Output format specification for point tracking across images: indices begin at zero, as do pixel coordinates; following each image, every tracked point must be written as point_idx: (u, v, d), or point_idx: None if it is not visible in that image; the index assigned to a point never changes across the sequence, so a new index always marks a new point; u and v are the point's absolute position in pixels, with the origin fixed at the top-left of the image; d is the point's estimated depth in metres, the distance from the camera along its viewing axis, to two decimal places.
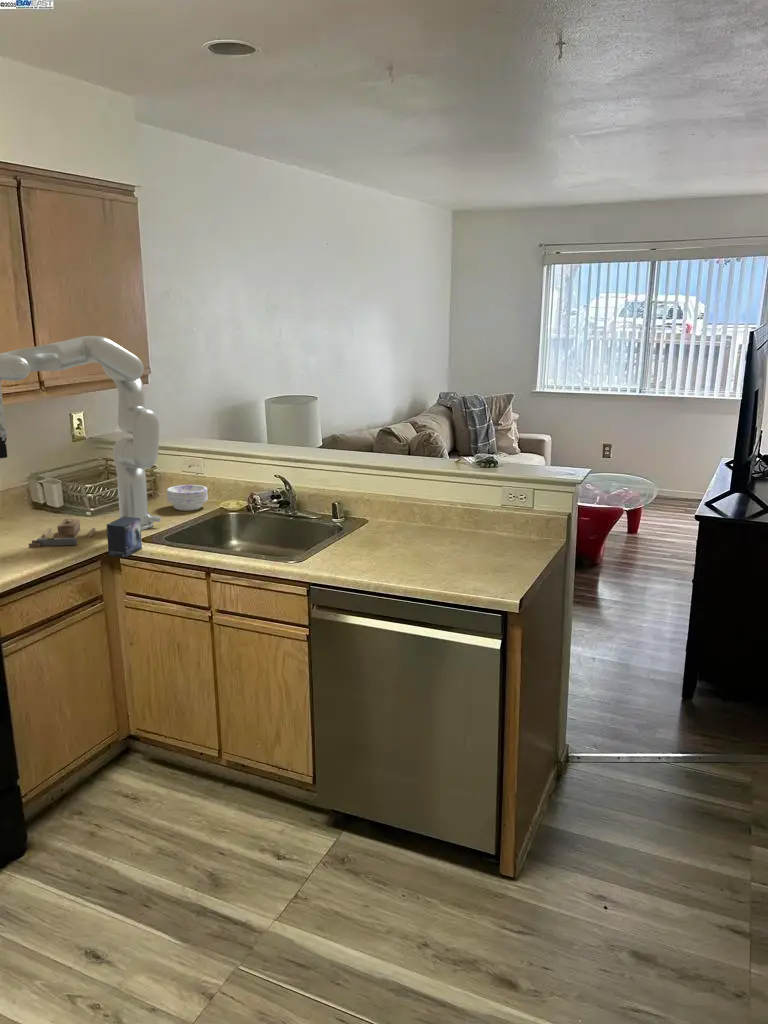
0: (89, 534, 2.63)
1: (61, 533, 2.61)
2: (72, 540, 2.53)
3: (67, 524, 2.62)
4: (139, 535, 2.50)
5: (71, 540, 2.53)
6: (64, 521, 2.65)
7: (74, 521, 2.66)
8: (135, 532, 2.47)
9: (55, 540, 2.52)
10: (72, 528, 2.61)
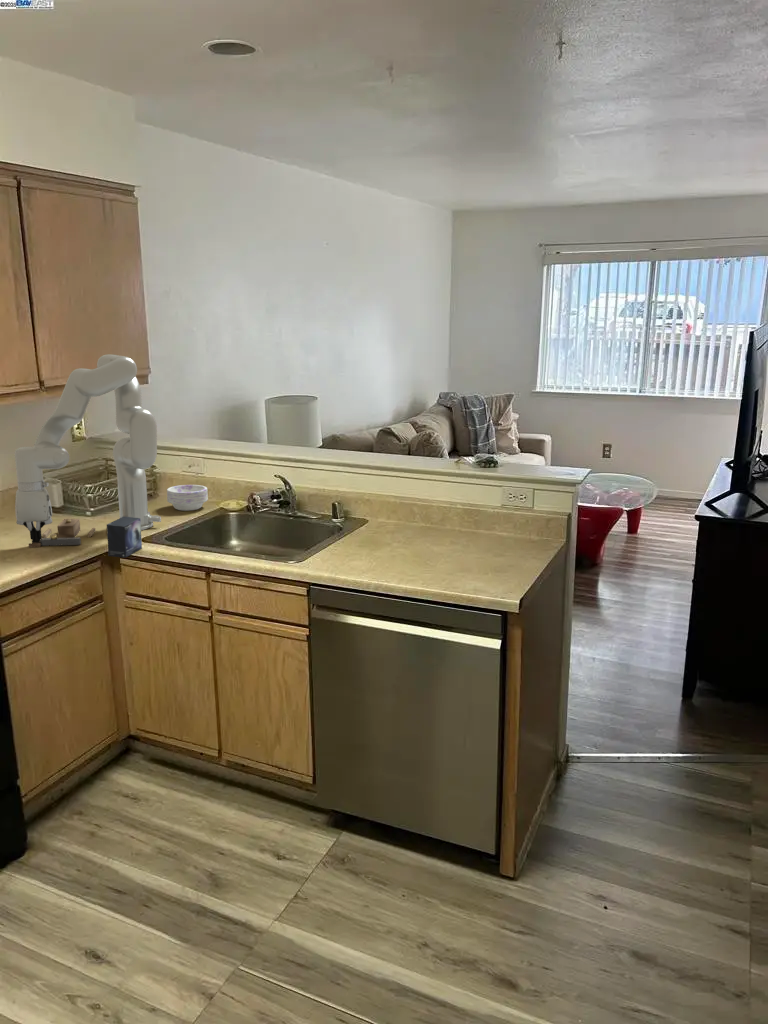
0: (89, 534, 2.63)
1: (61, 533, 2.61)
2: (76, 540, 2.53)
3: (67, 524, 2.62)
4: (139, 535, 2.50)
5: (75, 540, 2.53)
6: (64, 521, 2.65)
7: (74, 521, 2.66)
8: (135, 532, 2.47)
9: (58, 540, 2.53)
10: (72, 528, 2.61)
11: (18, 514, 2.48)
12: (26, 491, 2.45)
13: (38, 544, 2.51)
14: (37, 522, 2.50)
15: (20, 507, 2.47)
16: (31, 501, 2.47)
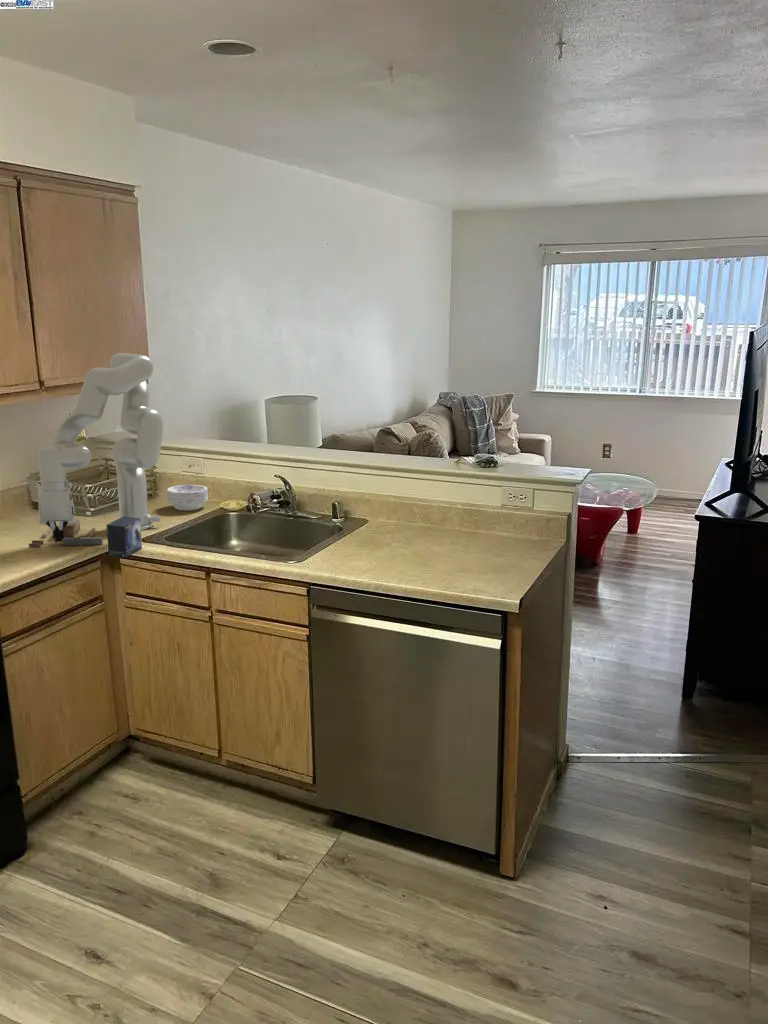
0: (89, 534, 2.63)
1: None
2: (98, 539, 2.54)
3: None
4: (139, 535, 2.50)
5: (97, 539, 2.54)
6: None
7: None
8: (135, 532, 2.47)
9: (81, 540, 2.54)
10: (72, 528, 2.61)
11: (41, 514, 2.49)
12: (49, 491, 2.46)
13: (38, 544, 2.51)
14: (60, 522, 2.51)
15: (43, 507, 2.48)
16: (54, 501, 2.48)
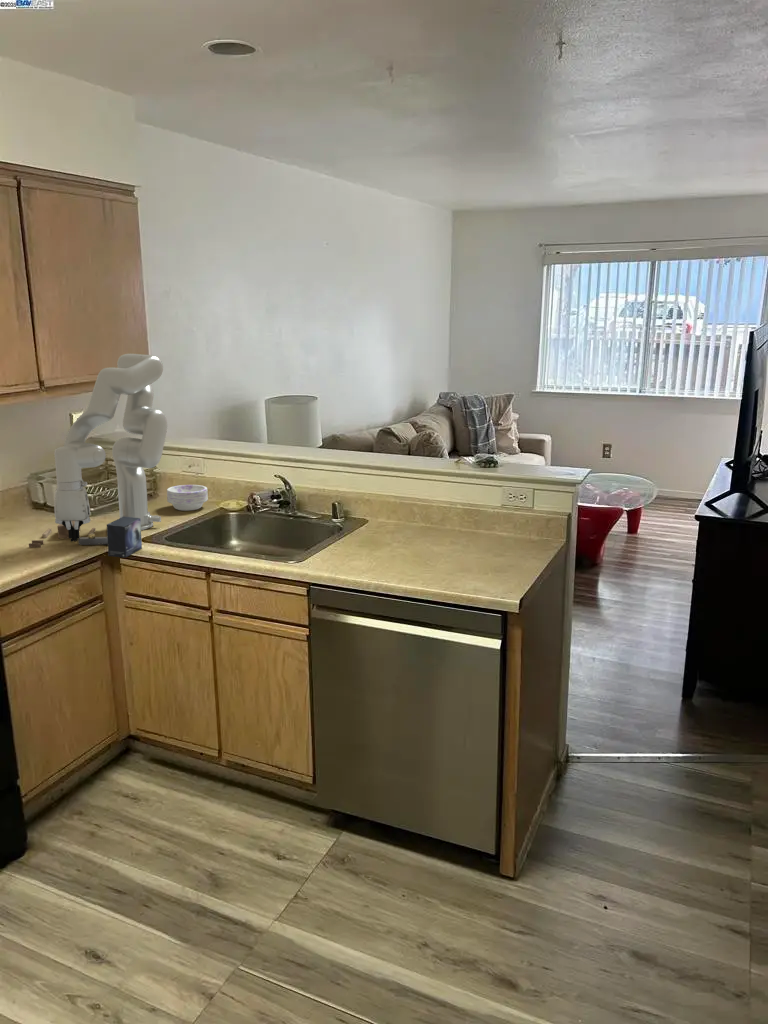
0: None
1: (61, 533, 2.61)
2: None
3: None
4: (139, 535, 2.50)
5: None
6: None
7: (74, 521, 2.66)
8: (135, 532, 2.47)
9: (96, 540, 2.54)
10: None
11: (57, 513, 2.49)
12: (66, 490, 2.46)
13: (38, 544, 2.51)
14: (76, 521, 2.51)
15: (59, 506, 2.49)
16: (70, 500, 2.48)
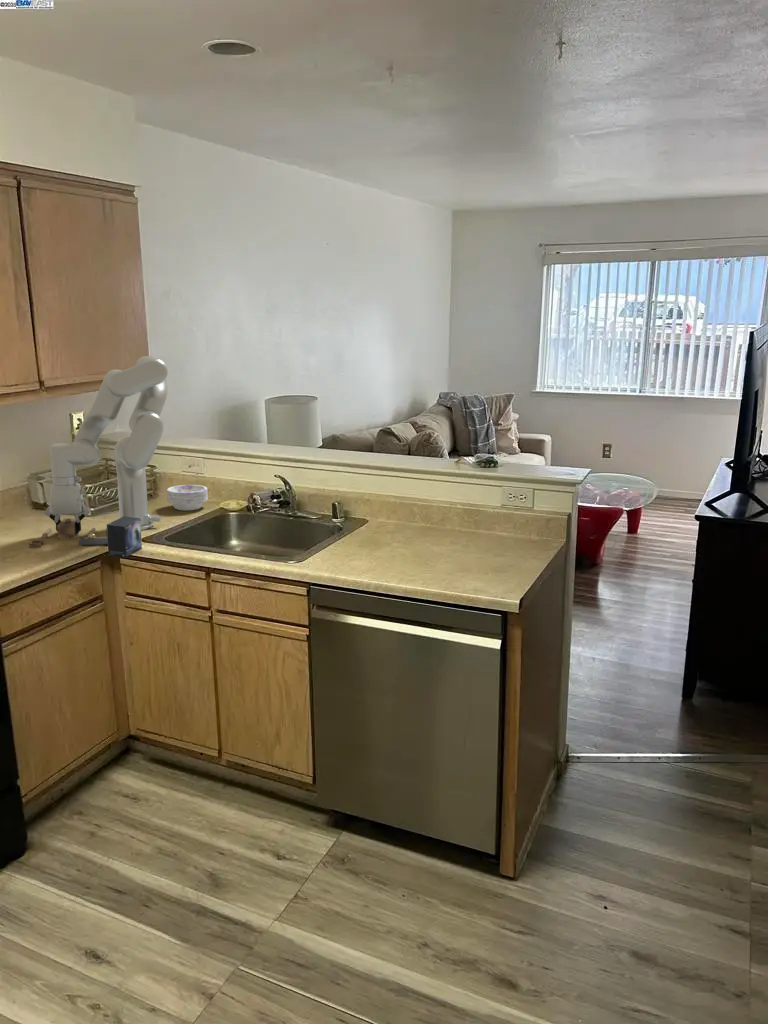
0: None
1: (61, 532, 2.60)
2: None
3: (67, 523, 2.62)
4: (139, 535, 2.50)
5: None
6: (64, 520, 2.65)
7: (74, 520, 2.66)
8: (135, 532, 2.47)
9: (96, 540, 2.54)
10: (72, 527, 2.61)
11: (52, 507, 2.60)
12: (60, 485, 2.57)
13: (38, 544, 2.51)
14: (75, 515, 2.63)
15: (54, 501, 2.60)
16: (65, 495, 2.59)
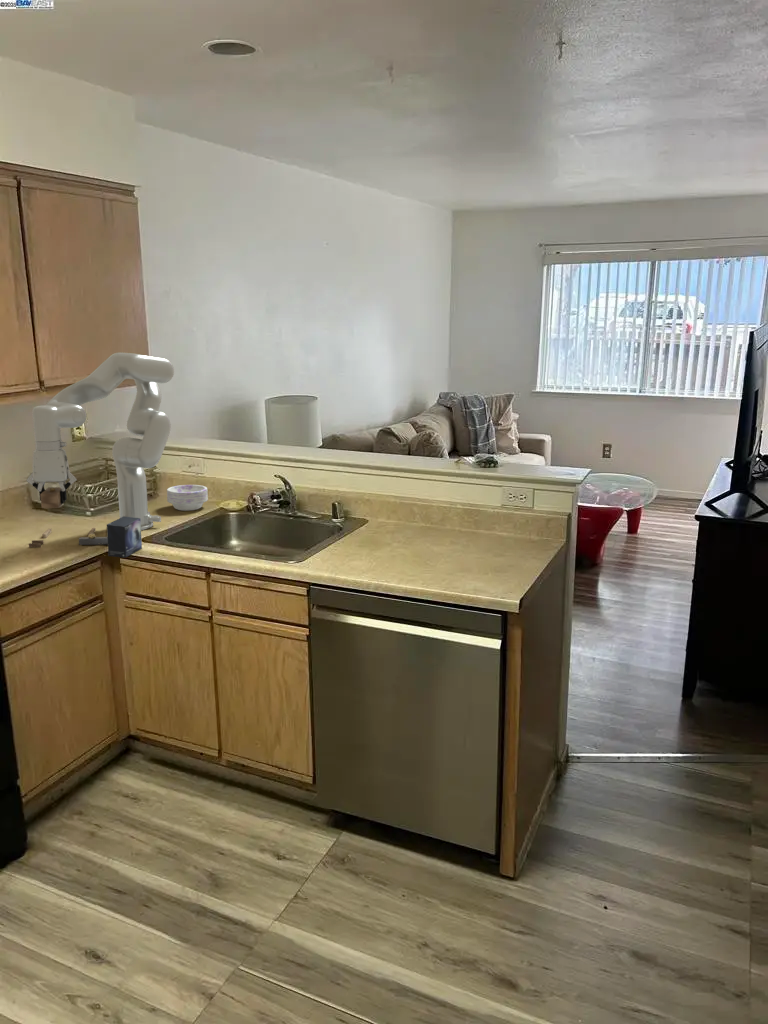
0: None
1: (45, 502, 2.42)
2: None
3: (51, 492, 2.43)
4: (139, 535, 2.50)
5: None
6: (48, 489, 2.47)
7: (59, 489, 2.47)
8: (135, 532, 2.47)
9: (96, 540, 2.54)
10: (56, 496, 2.42)
11: (35, 474, 2.42)
12: (44, 450, 2.39)
13: (38, 544, 2.51)
14: (60, 483, 2.44)
15: (37, 467, 2.41)
16: (49, 461, 2.41)
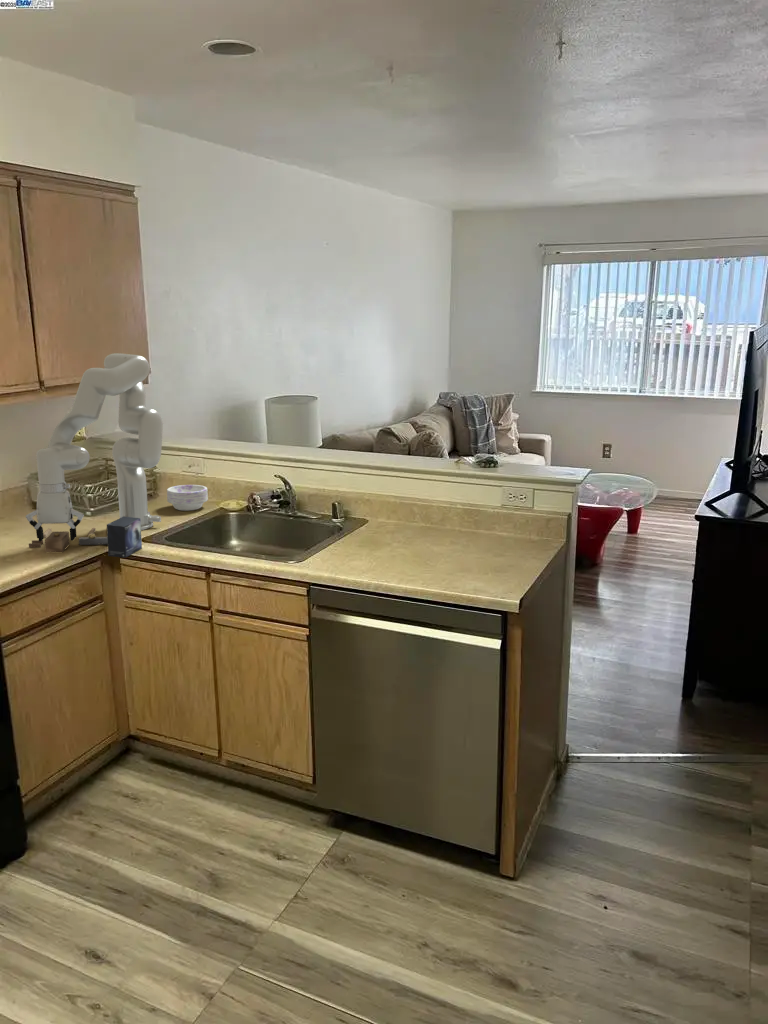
0: None
1: (49, 547, 2.46)
2: None
3: (55, 537, 2.47)
4: (139, 535, 2.50)
5: None
6: (52, 534, 2.51)
7: (63, 534, 2.51)
8: (135, 532, 2.47)
9: (96, 540, 2.54)
10: (60, 542, 2.46)
11: (39, 516, 2.45)
12: (48, 493, 2.42)
13: (38, 544, 2.51)
14: (68, 522, 2.48)
15: (41, 509, 2.45)
16: (53, 503, 2.44)
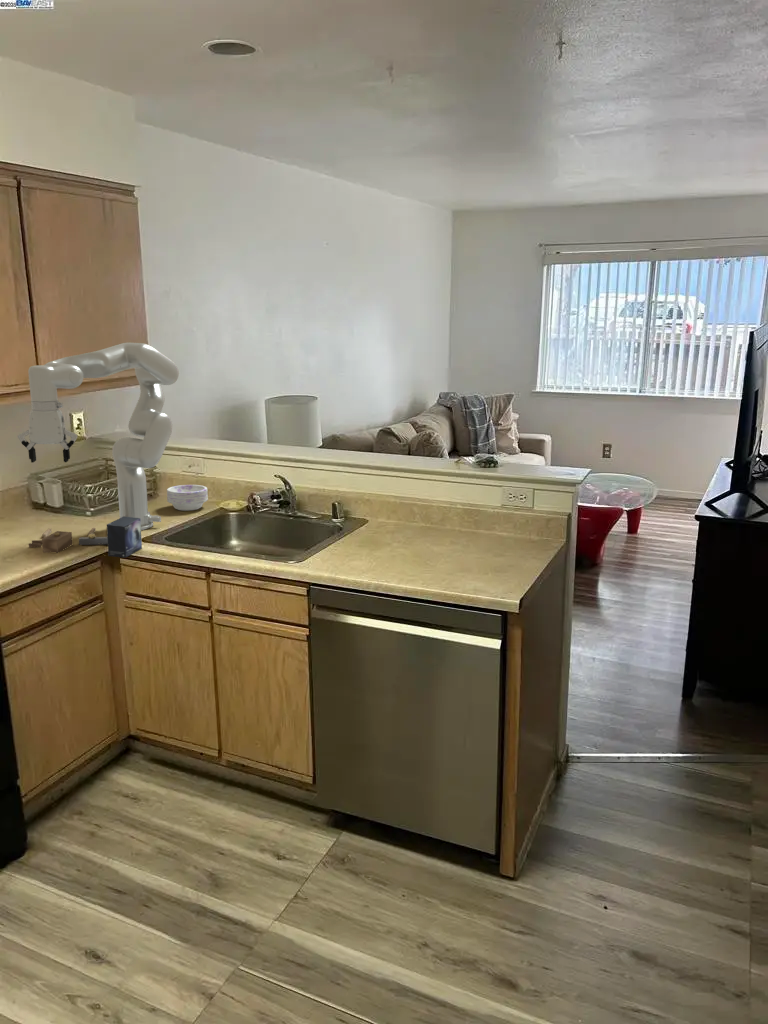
0: None
1: (45, 547, 2.46)
2: None
3: (53, 537, 2.47)
4: (139, 535, 2.50)
5: None
6: (54, 534, 2.51)
7: (63, 534, 2.50)
8: (135, 532, 2.47)
9: (96, 540, 2.54)
10: (56, 542, 2.45)
11: (32, 435, 2.39)
12: (40, 411, 2.36)
13: (38, 544, 2.51)
14: (61, 443, 2.41)
15: (34, 428, 2.38)
16: (45, 422, 2.38)
